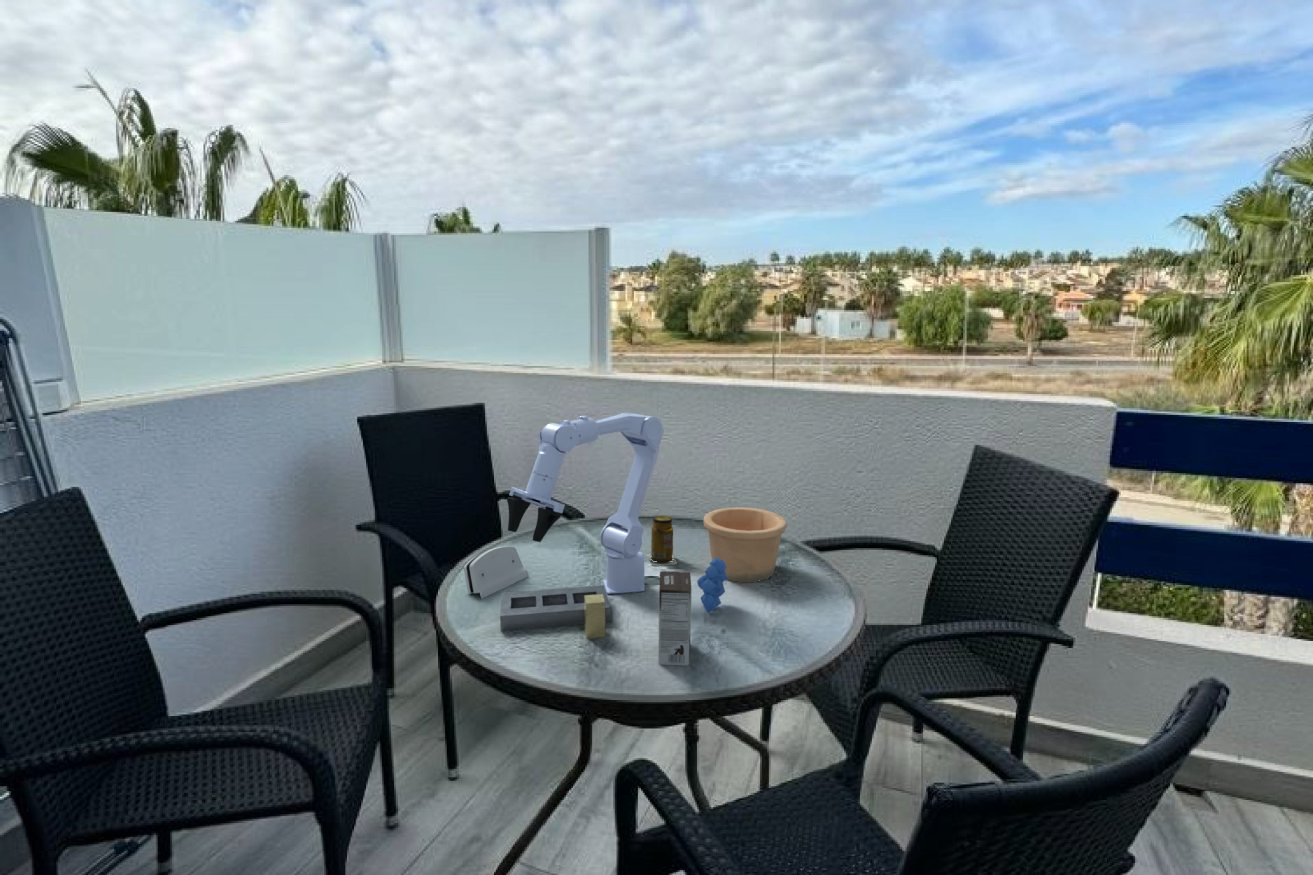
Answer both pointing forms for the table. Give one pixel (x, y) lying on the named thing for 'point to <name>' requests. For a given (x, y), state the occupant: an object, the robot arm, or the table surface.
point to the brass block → (594, 616)
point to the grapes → (713, 584)
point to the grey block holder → (547, 607)
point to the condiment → (662, 541)
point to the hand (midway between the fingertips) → (523, 536)
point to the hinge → (494, 570)
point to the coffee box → (674, 618)
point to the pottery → (745, 541)
